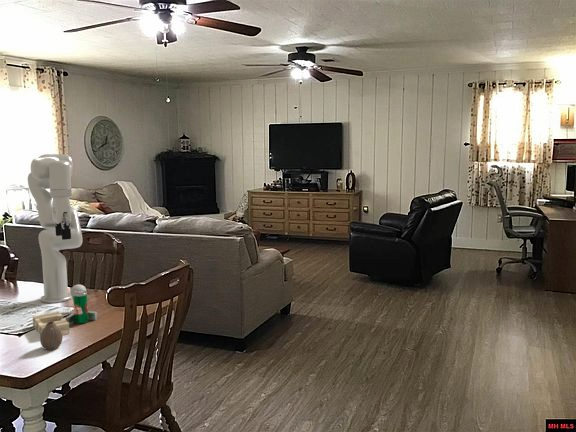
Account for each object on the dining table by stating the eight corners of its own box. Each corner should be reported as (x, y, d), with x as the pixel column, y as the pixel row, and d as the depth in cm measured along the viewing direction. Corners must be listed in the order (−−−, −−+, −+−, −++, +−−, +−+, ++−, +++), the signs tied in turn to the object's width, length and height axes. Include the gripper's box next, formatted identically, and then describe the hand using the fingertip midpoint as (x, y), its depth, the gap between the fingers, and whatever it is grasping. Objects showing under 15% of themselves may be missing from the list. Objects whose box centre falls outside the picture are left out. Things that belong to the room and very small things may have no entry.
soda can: (71, 323, 196) (70, 292, 194) (81, 319, 200) (80, 289, 198) (81, 325, 193) (79, 294, 192) (91, 321, 198) (90, 291, 196)
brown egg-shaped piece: (45, 344, 175) (43, 319, 174) (66, 343, 176) (64, 319, 174) (37, 352, 168) (35, 326, 167) (58, 351, 169) (57, 326, 168)
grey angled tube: (61, 319, 199) (60, 312, 199) (91, 314, 206) (91, 307, 205) (66, 325, 193) (66, 318, 192) (97, 319, 199) (97, 312, 199)
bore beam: (33, 326, 192) (32, 315, 191) (58, 321, 197) (58, 311, 197) (42, 339, 179) (41, 328, 179) (69, 333, 185) (68, 323, 184)
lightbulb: (81, 313, 207) (80, 287, 205) (68, 312, 208) (66, 286, 206) (90, 308, 213) (89, 283, 211) (77, 307, 214) (75, 282, 212)
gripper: (45, 192, 200) (48, 235, 202) (55, 196, 186) (58, 241, 188) (65, 191, 204) (67, 233, 207) (77, 194, 190) (79, 239, 193)
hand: (63, 237), depth 197 cm, fingers open, 9 cm apart
